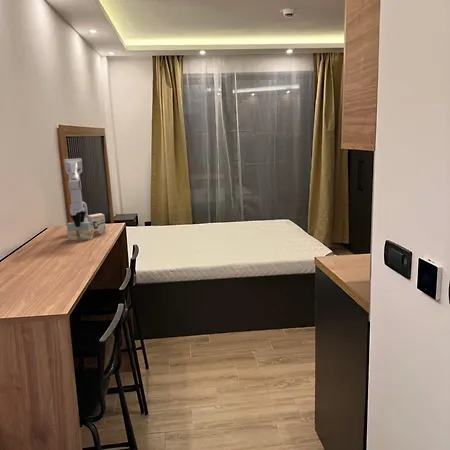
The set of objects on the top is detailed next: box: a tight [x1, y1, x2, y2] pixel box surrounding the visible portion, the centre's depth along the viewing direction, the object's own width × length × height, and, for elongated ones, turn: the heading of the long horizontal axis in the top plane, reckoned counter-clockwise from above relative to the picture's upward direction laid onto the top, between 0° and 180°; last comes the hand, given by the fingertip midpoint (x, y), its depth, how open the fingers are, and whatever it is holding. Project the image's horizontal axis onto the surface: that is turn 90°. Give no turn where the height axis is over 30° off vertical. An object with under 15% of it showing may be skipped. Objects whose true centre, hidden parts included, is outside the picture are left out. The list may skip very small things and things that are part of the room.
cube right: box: [81, 228, 95, 240], centre depth 242 cm, size 5×5×5 cm
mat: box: [65, 235, 98, 242], centre depth 244 cm, size 11×15×1 cm
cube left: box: [66, 231, 81, 240], centre depth 243 cm, size 5×5×5 cm
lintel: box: [66, 222, 91, 232], centre depth 242 cm, size 12×4×4 cm, turn 88°
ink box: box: [86, 212, 107, 236], centre depth 253 cm, size 8×5×12 cm, turn 134°
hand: (79, 225), depth 242 cm, fingers open, 5 cm apart
